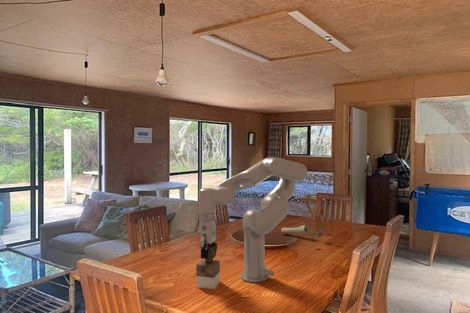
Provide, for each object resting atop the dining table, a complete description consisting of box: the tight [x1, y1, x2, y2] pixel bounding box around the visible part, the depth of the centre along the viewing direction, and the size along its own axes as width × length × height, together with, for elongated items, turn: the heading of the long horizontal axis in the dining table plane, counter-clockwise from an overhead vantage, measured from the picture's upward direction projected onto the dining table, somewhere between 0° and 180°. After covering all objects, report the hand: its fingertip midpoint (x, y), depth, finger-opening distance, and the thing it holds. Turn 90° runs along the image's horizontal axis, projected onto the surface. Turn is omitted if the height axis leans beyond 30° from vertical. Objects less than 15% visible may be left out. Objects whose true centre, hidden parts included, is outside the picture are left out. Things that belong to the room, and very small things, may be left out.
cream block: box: [196, 271, 221, 290], centre depth 153 cm, size 8×8×5 cm
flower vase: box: [280, 224, 327, 243], centre depth 228 cm, size 12×12×35 cm
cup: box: [200, 241, 218, 263], centre depth 153 cm, size 8×7×8 cm
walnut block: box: [195, 258, 221, 278], centre depth 152 cm, size 8×8×5 cm
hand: (207, 254), depth 153 cm, fingers open, 9 cm apart
